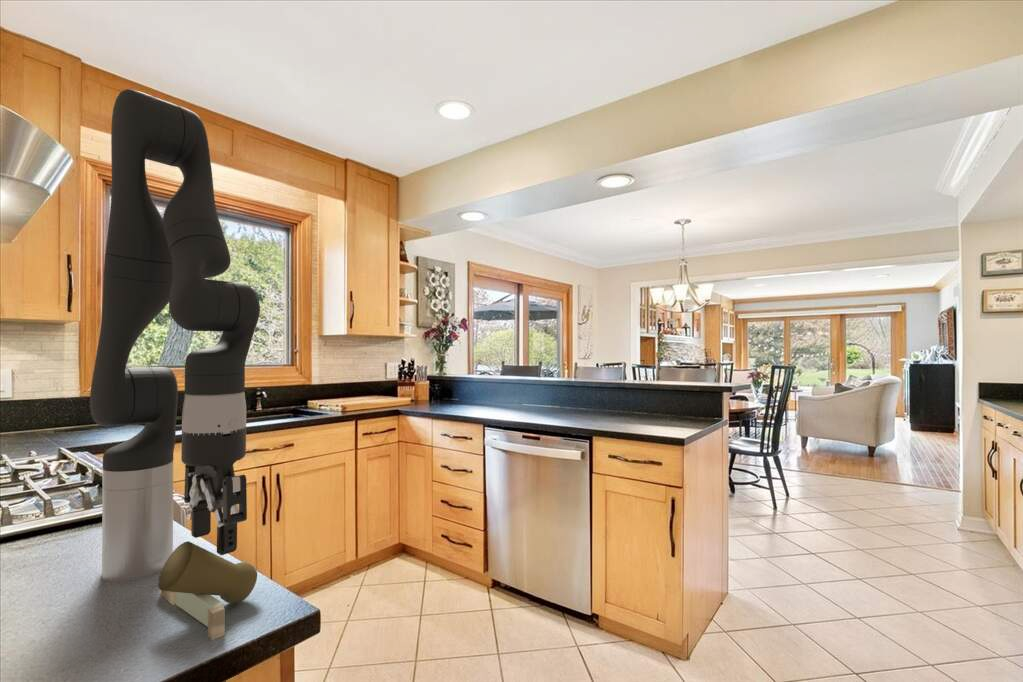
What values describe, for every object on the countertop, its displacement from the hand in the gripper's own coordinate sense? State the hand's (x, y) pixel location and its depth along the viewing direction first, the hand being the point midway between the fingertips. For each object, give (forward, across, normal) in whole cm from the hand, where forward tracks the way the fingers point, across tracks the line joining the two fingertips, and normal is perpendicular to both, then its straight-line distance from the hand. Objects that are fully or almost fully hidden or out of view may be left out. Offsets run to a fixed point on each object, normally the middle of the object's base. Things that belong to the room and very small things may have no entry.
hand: (213, 543), depth 66 cm
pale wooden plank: (+10, -6, -2) cm, 11 cm away
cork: (+1, 0, -4) cm, 5 cm away
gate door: (+10, -6, -2) cm, 11 cm away
